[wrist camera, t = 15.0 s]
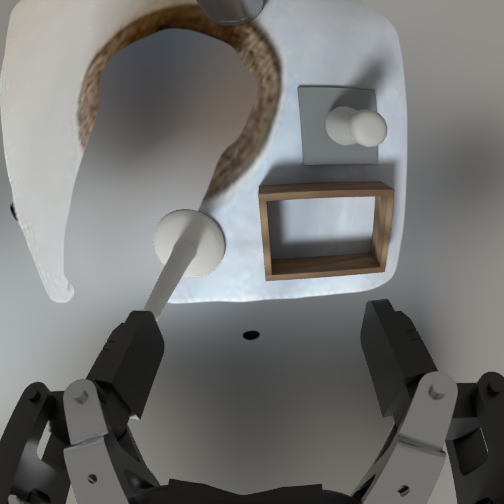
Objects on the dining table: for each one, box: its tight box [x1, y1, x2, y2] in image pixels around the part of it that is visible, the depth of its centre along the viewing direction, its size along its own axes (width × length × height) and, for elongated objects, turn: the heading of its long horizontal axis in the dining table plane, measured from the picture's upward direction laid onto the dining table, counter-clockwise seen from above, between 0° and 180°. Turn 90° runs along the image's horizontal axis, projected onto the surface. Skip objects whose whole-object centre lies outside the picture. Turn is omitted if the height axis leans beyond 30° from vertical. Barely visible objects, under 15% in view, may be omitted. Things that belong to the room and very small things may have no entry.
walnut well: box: [258, 182, 394, 281], centre depth 42 cm, size 14×20×5 cm
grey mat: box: [298, 87, 378, 165], centre depth 36 cm, size 12×12×1 cm
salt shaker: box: [326, 106, 387, 147], centre depth 30 cm, size 6×6×13 cm
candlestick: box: [142, 209, 225, 322], centre depth 33 cm, size 13×13×30 cm
